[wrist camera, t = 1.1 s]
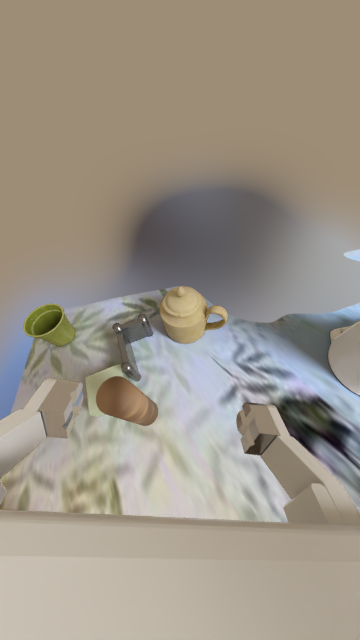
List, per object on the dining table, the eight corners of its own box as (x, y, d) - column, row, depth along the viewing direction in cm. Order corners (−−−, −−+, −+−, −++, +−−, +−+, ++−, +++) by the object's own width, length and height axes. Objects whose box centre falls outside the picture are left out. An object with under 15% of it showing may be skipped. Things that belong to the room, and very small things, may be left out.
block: (126, 369, 47) (120, 363, 44) (134, 402, 43) (128, 398, 40) (93, 382, 47) (85, 377, 43) (98, 417, 42) (89, 414, 39)
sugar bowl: (216, 303, 55) (220, 261, 42) (225, 338, 49) (233, 302, 36) (163, 311, 55) (152, 272, 43) (166, 347, 50) (154, 314, 37)
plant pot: (59, 319, 58) (38, 301, 50) (87, 323, 56) (70, 305, 48) (41, 348, 53) (15, 333, 46) (71, 354, 51) (49, 339, 44)
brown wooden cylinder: (154, 396, 44) (127, 370, 28) (161, 419, 41) (136, 405, 26) (132, 405, 43) (93, 384, 28) (138, 429, 40) (98, 421, 25)
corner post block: (151, 329, 53) (144, 312, 46) (166, 369, 46) (159, 357, 40) (123, 340, 52) (111, 324, 45) (134, 382, 46) (122, 371, 39)
